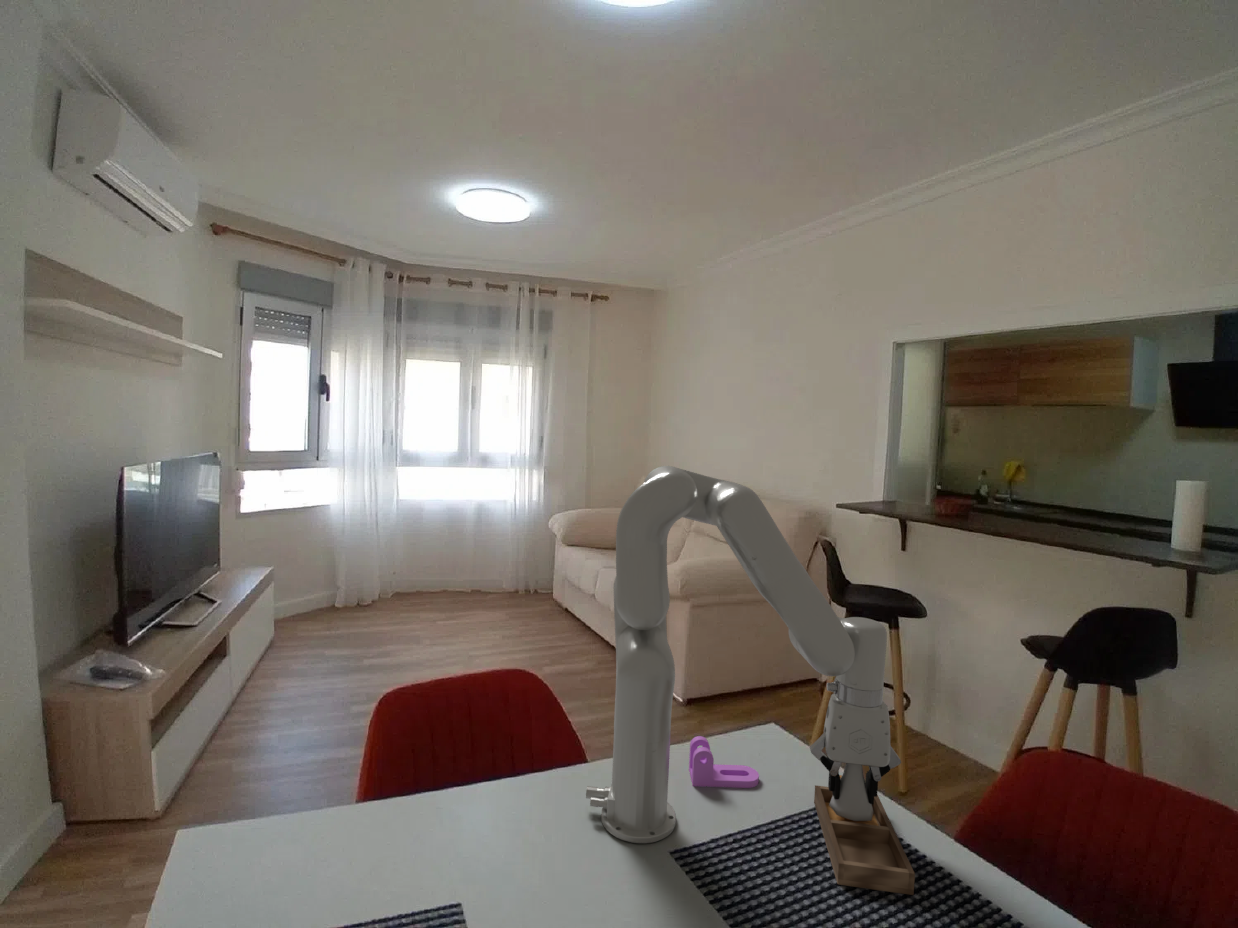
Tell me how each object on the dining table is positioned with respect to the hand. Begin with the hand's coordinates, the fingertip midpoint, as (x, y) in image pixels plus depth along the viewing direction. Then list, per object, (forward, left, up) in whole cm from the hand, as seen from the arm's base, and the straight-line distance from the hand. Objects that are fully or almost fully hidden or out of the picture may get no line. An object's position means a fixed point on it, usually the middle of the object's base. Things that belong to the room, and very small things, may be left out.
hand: (852, 795), depth 103 cm
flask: (0, 0, -3) cm, 3 cm away
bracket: (-21, +10, -6) cm, 24 cm away
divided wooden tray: (0, -5, -5) cm, 7 cm away
